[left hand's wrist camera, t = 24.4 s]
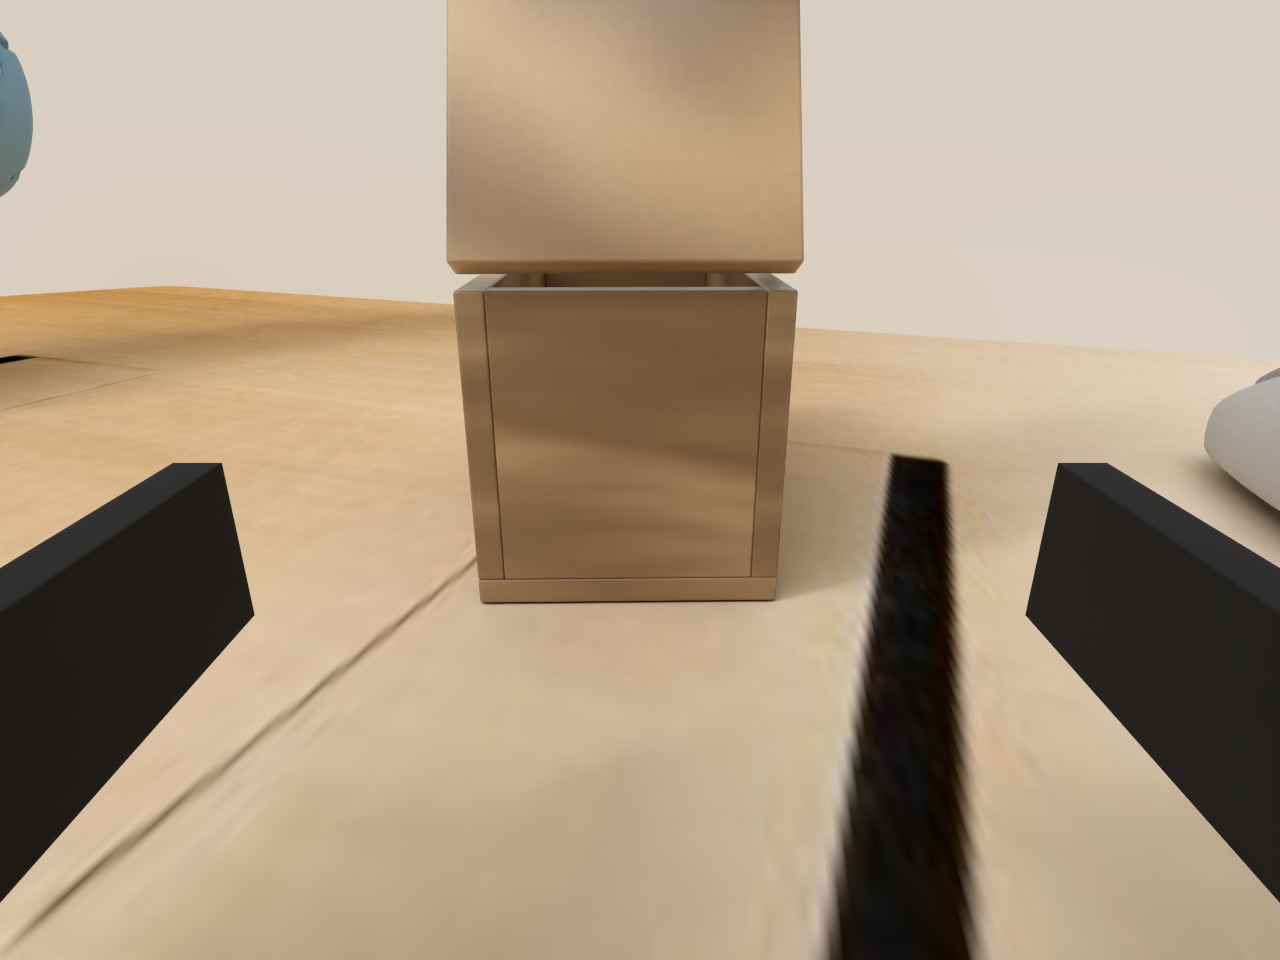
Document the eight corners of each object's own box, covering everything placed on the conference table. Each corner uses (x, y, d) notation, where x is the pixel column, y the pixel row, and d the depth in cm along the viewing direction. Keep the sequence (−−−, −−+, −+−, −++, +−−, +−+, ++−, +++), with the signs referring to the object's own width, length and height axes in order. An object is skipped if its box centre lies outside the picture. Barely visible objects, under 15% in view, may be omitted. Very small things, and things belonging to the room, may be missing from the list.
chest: (538, 434, 39) (528, 242, 36) (715, 433, 40) (722, 242, 36) (479, 603, 24) (452, 291, 20) (775, 600, 24) (798, 290, 20)
